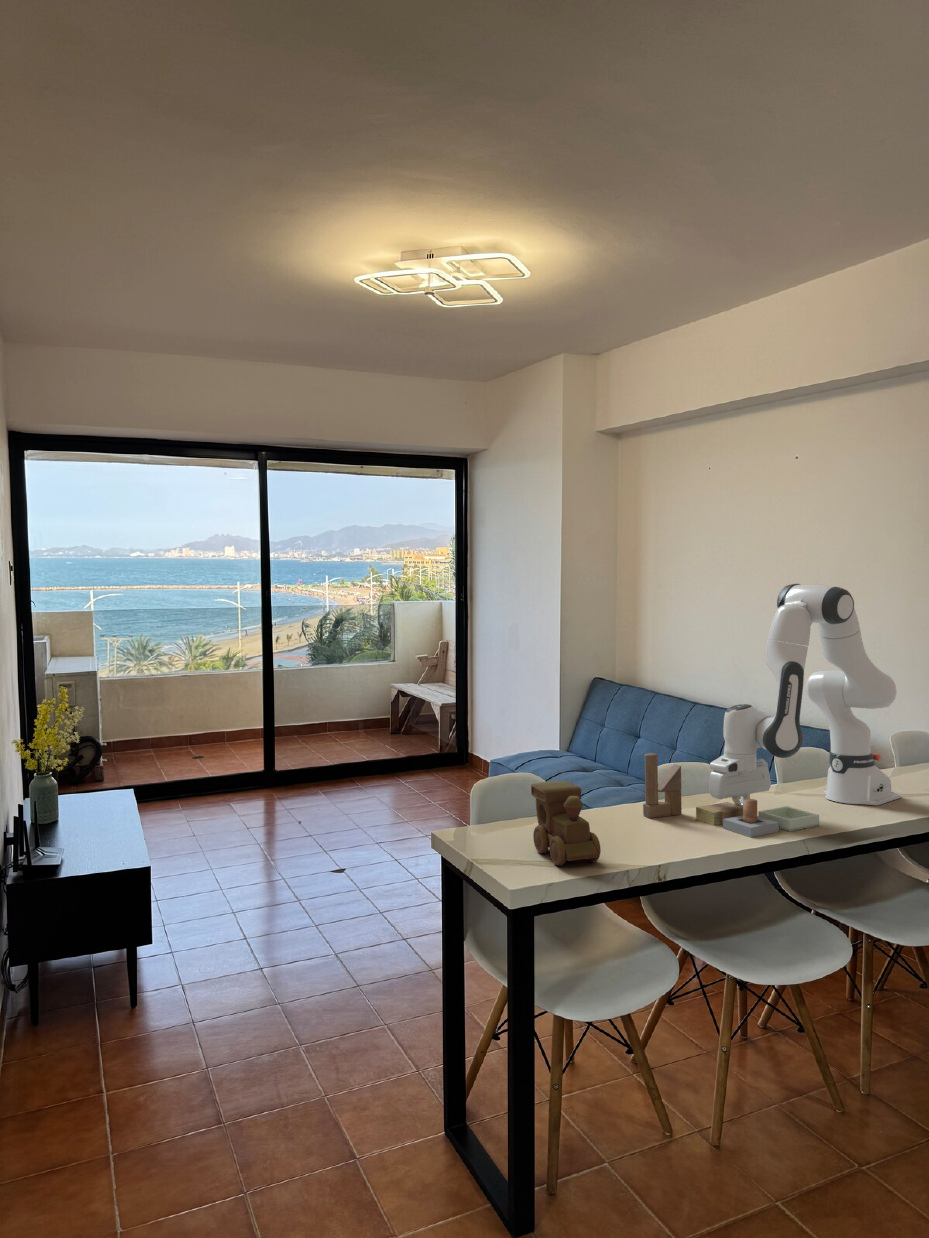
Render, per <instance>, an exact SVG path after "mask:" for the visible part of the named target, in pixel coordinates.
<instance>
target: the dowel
mask: <svg viewBox="0 0 929 1238" xmlns="http://www.w3.org/2000/svg"><path fill="white" fill-rule="evenodd" d="M757 816H758V800H757V799H754V798H750V799H744V800H743V822H745V823H748V824H754V823H758V818H757Z"/></svg>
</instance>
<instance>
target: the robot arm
mask: <svg viewBox="0 0 929 1238" xmlns="http://www.w3.org/2000/svg"><path fill="white" fill-rule="evenodd" d="M776 605H777V609H776V611H775V614H774V616H773V617H772V620H771V622H770V623H771V624H770V627H769V631H768V635H767V640H766V645H765V663H766V665H767V666H768V669H770V671H771V673H772V674H773V676H774V678H775V680H776V683H777V695H776V702H775V703H776V704H775V710H774V711H775V712H774V715H771V714H769V713H765V712H764V711H762V710H758V709H757V708H756V707H754V706H753V705H751V704H746V703H745V704H736V705H733V706H730V707H728V708H727V709H726V711H725V712H724V716H723V726H722V727H723V738H724V739H723V740H724V747H723V754H722V755H720V756H719V757H718V758H716V759H714V760H712V761H711V762H710V764H709V769H710V770H712V771H711V772H710V774H709V779H708V780H709V782H708V784H709V794H710V796H711V798H714V799H718V800H723V799H728V798H731V800H732V801H733V802H732V803H733V804H736V805H740V806H743V800H744V799H751V794H757V793H763V792H769V791H770V789H771V787H772V783H771V776H770V770H769V764H768V762H767V760H765V759H764V758H759V759H758V758H757V751H758V749H764V750H766V751H767V752H768V753H770V754H771V756H774V757H776V758H780V759H787V758H791V757H793V756H794V755H795V754H796V753H798V752H799V751H800V749H801V747H802V745H803V732H802V729H801V723H800V719H801V718H800V717H801V710H802V700H803V691H804V681H805V680H804V677H805V667H806V660H807V656H808V651H809V645H810V639H811V638H810V637H811V626H812V625H813V624H814V623H815V624H818V631H819V637H820V643H821V648H822V653H823V654H822V655H823V656H824V658H825V660H826V661H827V662H828V663H829V664H831V665H833V666H834V667H837V668H839V670H837V669H835V670H834V669H833V670H832V669H827V670H821V671H813V672H812V673H811V674H810V675H809V676H808V678H807V680H806V683H805V690H806V694H807V696H808V698H809V699H810V701H811V702H813V704H815V705H816V706H817V707H818V708H819V709H820V711H822V713H823V715H824V717H825V719H826V721H827V725H828V727H829V738H830V751H829V755H828V759H829V760H828V762H829V764H830V767H828V769H827V779H826V780H827V781H826V789H824V791H823V792H824V795H825V798H826V799H827V800H830V801H834V802H836V803H841V804H850V805H869V806H881V805H883V804H887V803H889V802H892V801H895V800H897V799H900V798H901V794H900V793H898V792H896V791H893V789H892V783H891V778H890V777H889V776H888V774H886V773H885V772H883V771H882V770H881V769H880V768H879V767H877V765H876V762H875V761H877V762H879V761H880V760H881V757H882V756H881V754H880V753H874V752H873V753H871V751H872V750H871V748H872V747H871V744H872V742H871V738H872V737H871V729H870V727H869V725H867V723H865V722H864V721H863V720H861V719H859V718H857V716H855V715H854V713H853V711H852V708H857V709H858V708H859V709H869V710H870V709H871V710H873V709H875V710H876V709H884V708H888V707H890V706H891V705H892V704H893V703H894V701H895V699H896V696H897V686H896V683H895V681H894V680H893V678H892V677H891V676H890V675H888V674H886V673H885V672H883V671H882V670H880V669H879V667H877V666H876V665H875V664H874V663H873V661H872V660H871V659H870V658H869V656H868V654H867V652H866V650H865V645H864V643H863V638H862V633H861V626H860V623H859V619H858V614H857V612H856V609H855V600H854V598H853V596H852V595H851V592H849V591H848V590H847V589H845V588H843V587H840V586H829V585H824V584H818V583H816V584H808V583H807V584H805V583H804V584H800V583H792V584H788V585H787V584H786V585H785V586H784V587H783V588H782V589H781V591H780V592H779V593H778V595H777V599H776ZM740 800H741V801H740Z"/></svg>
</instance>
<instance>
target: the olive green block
mask: <svg viewBox="0 0 929 1238" xmlns="http://www.w3.org/2000/svg"><path fill="white" fill-rule="evenodd" d="M695 816H696V818H695V819H696V820H698V821H700V822H703V823H706V824H709V825H712V826H717V825H723V824H722V811H720V810H717V809H713V808H710V807H707V805H700V806H696V807H695Z"/></svg>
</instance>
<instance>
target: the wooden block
mask: <svg viewBox="0 0 929 1238" xmlns="http://www.w3.org/2000/svg"><path fill="white" fill-rule="evenodd" d="M658 769H659V768H658V754H657V753H653V752H647V753H645V754H644V781H645V782H644V786H645V787H644V791H645V792H644V793H645V795H644V796H645V803H643V804H642V808H643V809H642V811H643V812H642V815H643V816H644V817H646V818H648V819H653V818H654V819H655V818H663V817H672V816H671V815H674V816H680V814H681V815H682V765H679V764H676V763H673V765H672V766H671V767H670V769H669V770H668V771H667V772H666V774H665V775H664V776H663V778H661V780H660V781H659V776H658V775H659V774H658V773H659V771H658ZM659 793H664V801H659Z"/></svg>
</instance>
